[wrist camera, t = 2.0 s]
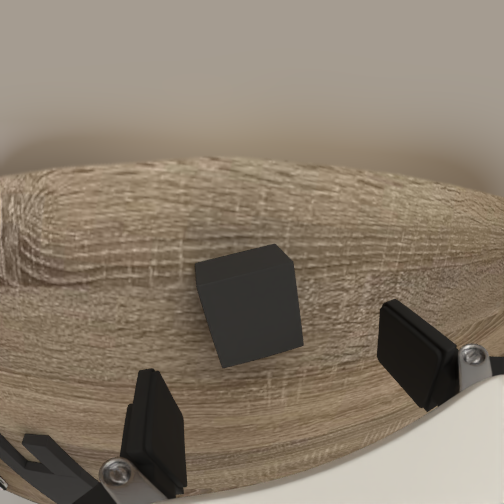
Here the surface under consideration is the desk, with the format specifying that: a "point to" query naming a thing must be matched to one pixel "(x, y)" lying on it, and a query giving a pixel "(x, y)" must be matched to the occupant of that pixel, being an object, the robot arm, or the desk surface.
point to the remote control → (3, 484)
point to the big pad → (48, 469)
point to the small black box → (250, 304)
